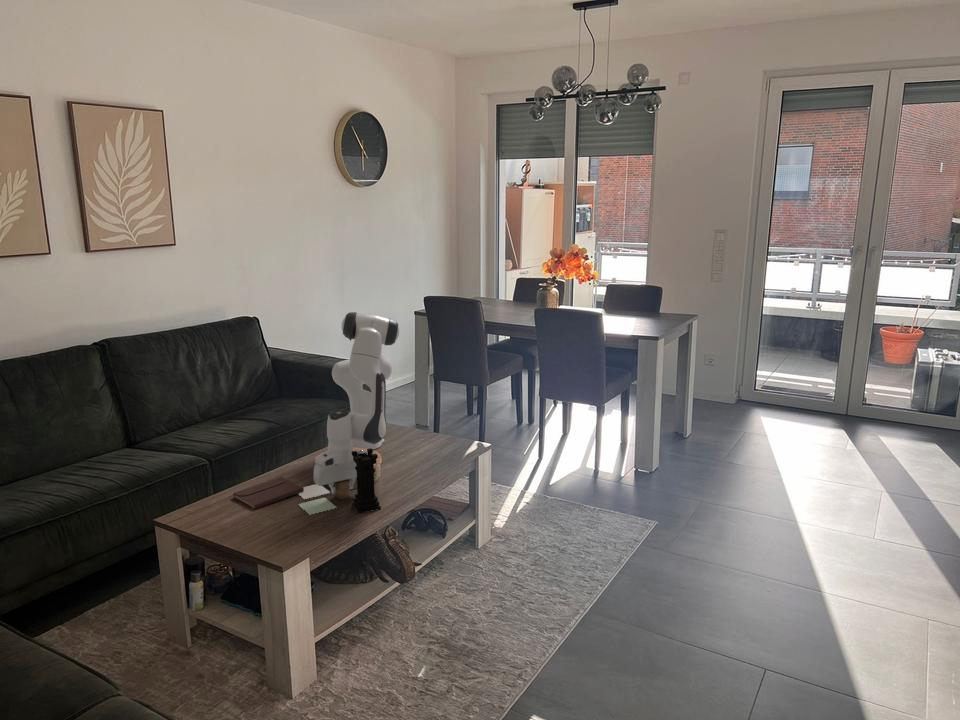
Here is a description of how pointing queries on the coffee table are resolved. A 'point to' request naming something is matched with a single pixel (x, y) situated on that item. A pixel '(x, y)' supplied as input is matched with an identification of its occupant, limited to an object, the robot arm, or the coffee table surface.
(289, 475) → the coffee table surface
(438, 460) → the coffee table surface
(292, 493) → the notebook
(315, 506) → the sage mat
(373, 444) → the robot arm
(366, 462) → the chess piece
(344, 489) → the brown cylinder
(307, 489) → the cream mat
